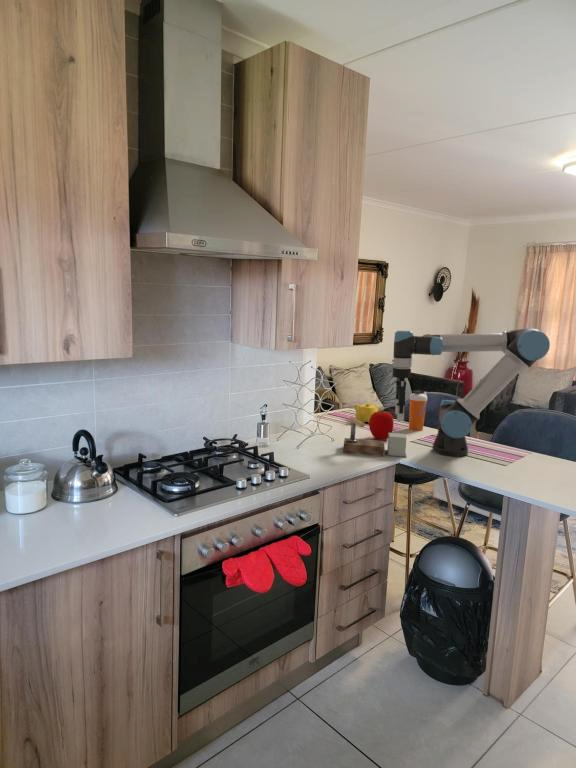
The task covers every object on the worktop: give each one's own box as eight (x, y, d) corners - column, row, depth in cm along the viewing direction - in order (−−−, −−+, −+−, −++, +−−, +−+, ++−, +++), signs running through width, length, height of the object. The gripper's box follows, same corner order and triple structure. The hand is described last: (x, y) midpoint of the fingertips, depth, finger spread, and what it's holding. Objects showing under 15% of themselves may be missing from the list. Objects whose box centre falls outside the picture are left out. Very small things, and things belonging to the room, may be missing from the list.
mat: (404, 452, 231) (405, 451, 231) (406, 457, 222) (406, 457, 222) (384, 450, 232) (384, 449, 232) (384, 456, 223) (384, 455, 223)
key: (365, 446, 221) (367, 423, 220) (356, 446, 220) (357, 423, 218) (354, 439, 232) (356, 417, 230) (345, 439, 230) (347, 417, 229)
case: (382, 449, 233) (383, 441, 232) (383, 456, 223) (384, 447, 222) (344, 446, 235) (344, 437, 234) (343, 452, 225) (343, 443, 225)
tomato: (387, 443, 243) (389, 413, 241) (364, 439, 249) (366, 410, 247) (396, 438, 254) (398, 409, 252) (373, 434, 260) (375, 406, 257)
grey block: (403, 451, 230) (405, 433, 229) (405, 456, 223) (406, 437, 222) (387, 450, 231) (388, 432, 230) (388, 455, 224) (389, 436, 223)
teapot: (356, 424, 281) (358, 405, 280) (352, 418, 294) (353, 400, 293) (382, 424, 282) (383, 406, 280) (376, 419, 295) (378, 401, 294)
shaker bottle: (403, 428, 276) (406, 390, 272) (413, 426, 282) (416, 389, 278) (418, 432, 269) (421, 393, 266) (428, 429, 275) (431, 391, 272)
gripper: (391, 364, 234) (388, 411, 237) (394, 371, 210) (391, 423, 213) (408, 364, 233) (406, 412, 236) (413, 371, 209) (410, 424, 212)
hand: (399, 417), depth 225 cm, fingers open, 13 cm apart
